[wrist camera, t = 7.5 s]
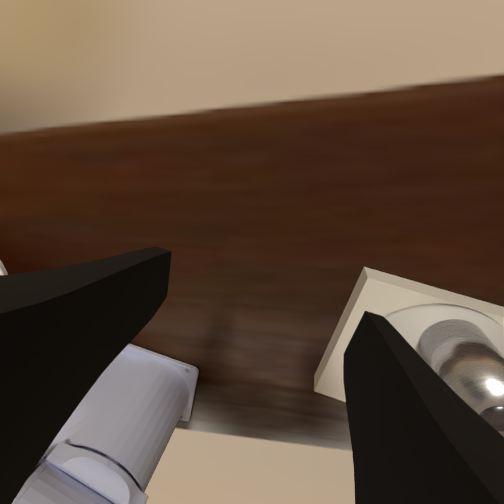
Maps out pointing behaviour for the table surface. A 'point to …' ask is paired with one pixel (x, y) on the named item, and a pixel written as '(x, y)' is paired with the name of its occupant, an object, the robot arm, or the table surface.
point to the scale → (401, 319)
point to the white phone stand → (2, 269)
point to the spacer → (467, 366)
